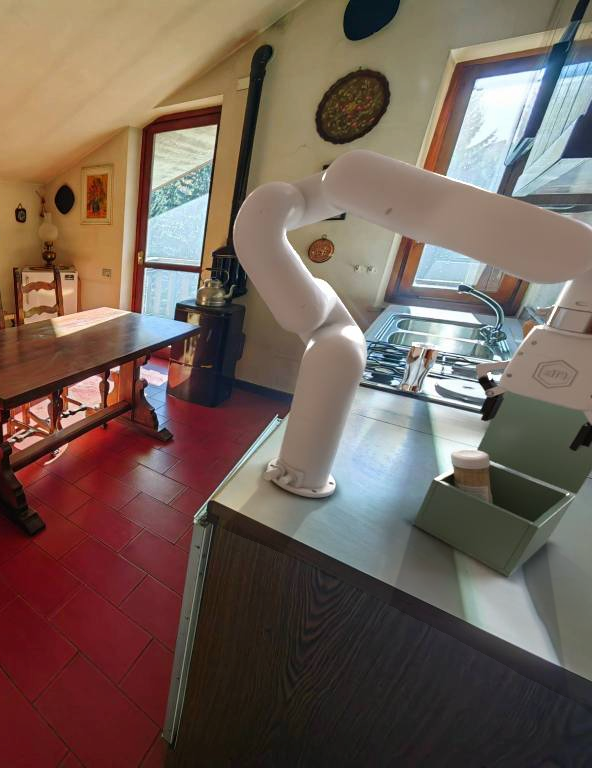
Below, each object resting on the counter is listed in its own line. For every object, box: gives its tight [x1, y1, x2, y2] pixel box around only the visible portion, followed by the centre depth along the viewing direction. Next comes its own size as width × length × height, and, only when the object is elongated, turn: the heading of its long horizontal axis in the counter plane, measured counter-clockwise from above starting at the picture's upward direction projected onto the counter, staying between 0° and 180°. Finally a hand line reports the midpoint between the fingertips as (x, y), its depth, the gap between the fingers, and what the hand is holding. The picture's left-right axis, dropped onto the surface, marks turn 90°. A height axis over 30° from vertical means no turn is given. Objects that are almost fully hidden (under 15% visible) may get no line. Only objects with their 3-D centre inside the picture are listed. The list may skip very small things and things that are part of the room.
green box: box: [412, 462, 576, 578], centre depth 66 cm, size 16×13×10 cm
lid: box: [476, 391, 592, 495], centre depth 65 cm, size 16×13×5 cm
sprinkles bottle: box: [450, 449, 492, 504], centre depth 66 cm, size 5×5×14 cm
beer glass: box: [397, 342, 440, 395], centre depth 124 cm, size 7×7×15 cm
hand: (528, 432), depth 59 cm, fingers open, 9 cm apart
